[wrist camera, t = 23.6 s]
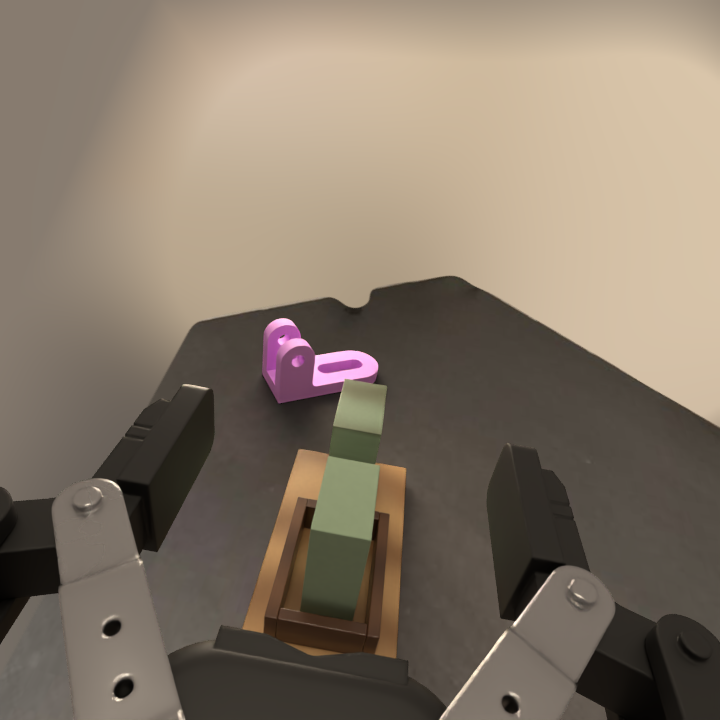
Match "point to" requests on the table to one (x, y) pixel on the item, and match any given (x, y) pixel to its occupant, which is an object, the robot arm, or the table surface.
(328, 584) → the green rectangular block
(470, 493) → the table surface
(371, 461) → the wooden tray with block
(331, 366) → the bracket
